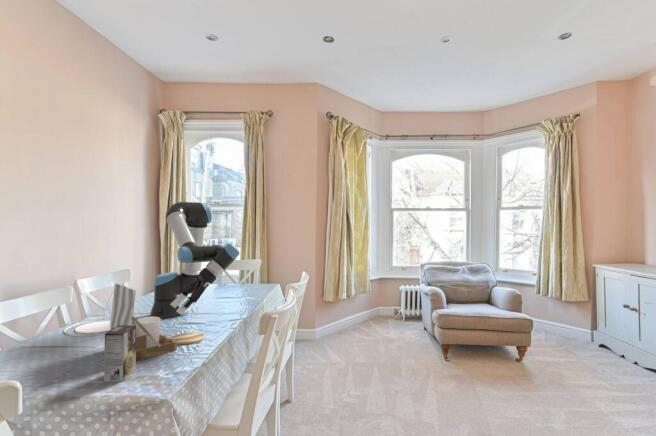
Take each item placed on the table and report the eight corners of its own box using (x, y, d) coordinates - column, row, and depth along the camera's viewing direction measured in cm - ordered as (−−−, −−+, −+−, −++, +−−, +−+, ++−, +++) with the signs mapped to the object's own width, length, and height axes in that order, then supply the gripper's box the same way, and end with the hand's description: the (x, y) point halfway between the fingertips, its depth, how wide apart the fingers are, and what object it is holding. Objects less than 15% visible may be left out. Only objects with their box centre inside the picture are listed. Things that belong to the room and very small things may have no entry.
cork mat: (162, 339, 155) (162, 338, 155) (194, 331, 166) (194, 330, 166) (178, 347, 145) (178, 346, 145) (210, 339, 157) (210, 337, 157)
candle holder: (165, 346, 147) (166, 317, 147) (146, 354, 138) (147, 324, 138) (147, 343, 150) (148, 315, 151) (128, 351, 141) (128, 321, 141)
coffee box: (117, 370, 123) (118, 325, 123) (136, 370, 123) (137, 324, 124) (102, 382, 114) (103, 333, 114) (123, 382, 114) (124, 332, 114)
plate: (89, 340, 154) (89, 338, 154) (50, 331, 165) (50, 330, 165) (144, 323, 180) (144, 322, 180) (107, 317, 190) (107, 315, 190)
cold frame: (109, 349, 143) (110, 283, 143) (155, 338, 157) (156, 278, 157) (129, 363, 129) (130, 291, 129) (177, 350, 142) (178, 284, 143)
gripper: (225, 281, 150) (188, 321, 141) (209, 274, 170) (176, 308, 162) (213, 270, 147) (174, 310, 138) (198, 264, 168) (164, 298, 159)
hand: (175, 309), depth 150 cm, fingers open, 13 cm apart
